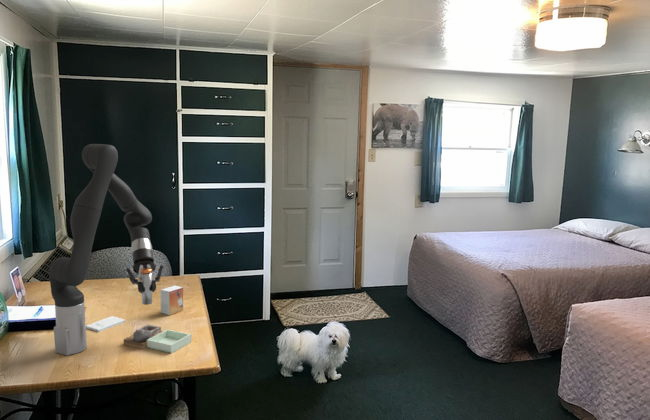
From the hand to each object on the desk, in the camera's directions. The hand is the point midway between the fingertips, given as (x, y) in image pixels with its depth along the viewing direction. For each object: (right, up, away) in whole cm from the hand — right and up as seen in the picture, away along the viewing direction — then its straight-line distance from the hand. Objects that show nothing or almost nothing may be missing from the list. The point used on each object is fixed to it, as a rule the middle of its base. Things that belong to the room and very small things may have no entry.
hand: (147, 291), depth 188 cm
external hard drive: (-23, -17, +16) cm, 32 cm away
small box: (-1, -14, +32) cm, 35 cm away
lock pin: (-1, -5, +2) cm, 5 cm away
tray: (+9, -19, -2) cm, 21 cm away
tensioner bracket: (-1, -19, +1) cm, 19 cm away
